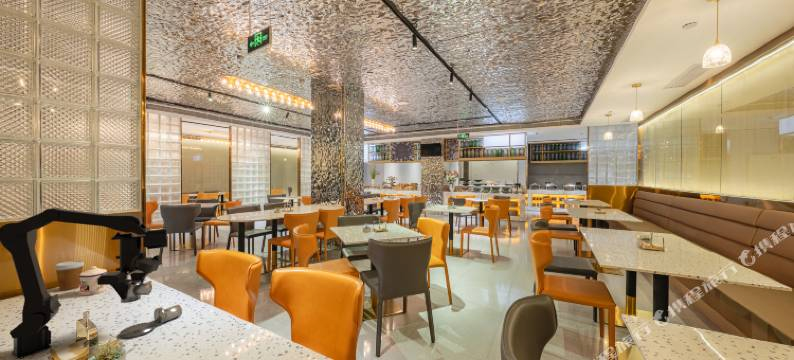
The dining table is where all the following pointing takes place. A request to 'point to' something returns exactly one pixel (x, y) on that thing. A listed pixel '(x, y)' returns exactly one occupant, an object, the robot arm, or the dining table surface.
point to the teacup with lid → (91, 281)
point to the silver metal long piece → (152, 322)
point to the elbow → (137, 290)
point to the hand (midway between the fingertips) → (130, 296)
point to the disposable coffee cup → (69, 274)
